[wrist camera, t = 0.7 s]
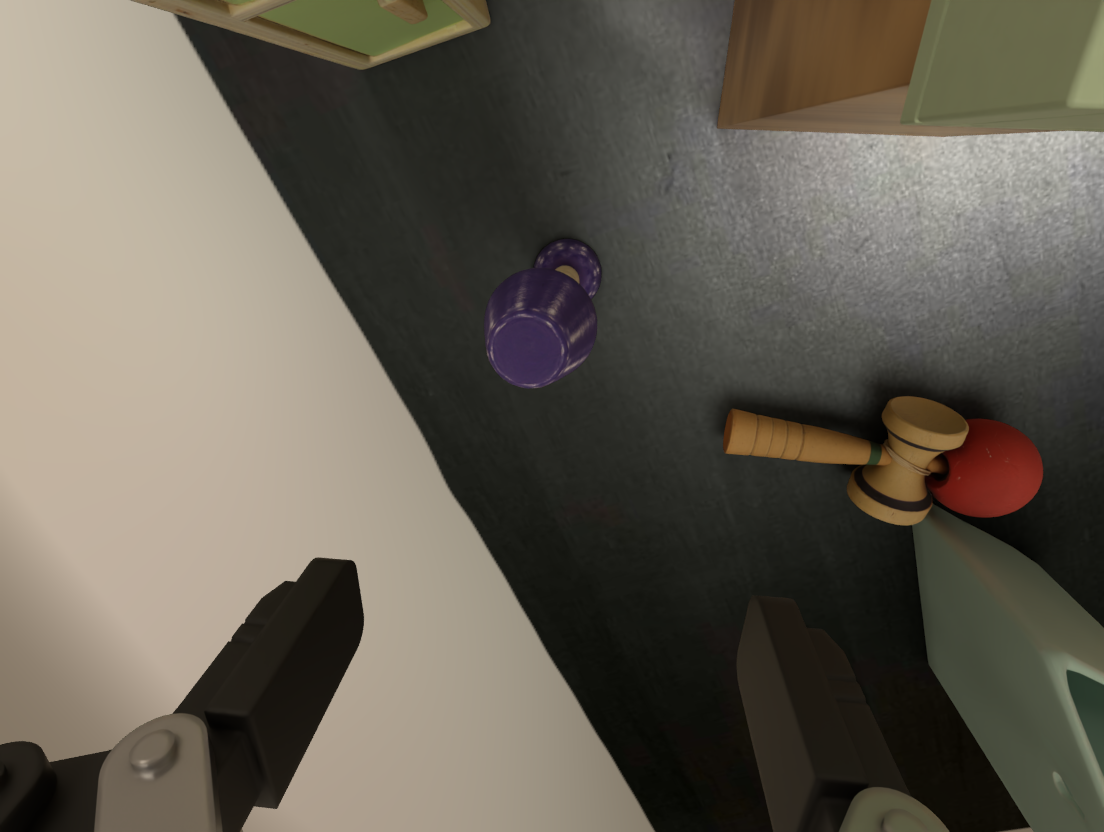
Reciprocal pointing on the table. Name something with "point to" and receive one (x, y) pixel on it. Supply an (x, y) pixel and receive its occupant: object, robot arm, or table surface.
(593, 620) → the table surface
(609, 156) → the table surface
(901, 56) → the stand
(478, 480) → the table surface
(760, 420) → the kendama
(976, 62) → the box
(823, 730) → the robot arm
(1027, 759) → the planter
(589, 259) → the toy lamp
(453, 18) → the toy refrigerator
